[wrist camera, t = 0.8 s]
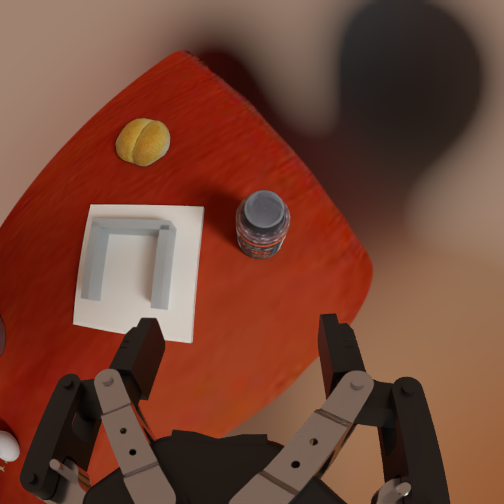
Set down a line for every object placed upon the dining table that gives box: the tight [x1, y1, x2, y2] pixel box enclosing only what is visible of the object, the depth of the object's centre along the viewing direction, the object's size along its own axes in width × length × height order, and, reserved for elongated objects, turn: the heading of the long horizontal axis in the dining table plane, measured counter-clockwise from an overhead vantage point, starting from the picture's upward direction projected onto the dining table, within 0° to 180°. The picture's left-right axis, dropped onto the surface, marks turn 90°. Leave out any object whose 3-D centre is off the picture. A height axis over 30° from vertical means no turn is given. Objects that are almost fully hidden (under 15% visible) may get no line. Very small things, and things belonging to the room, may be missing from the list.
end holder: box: [73, 205, 205, 343], centre depth 36 cm, size 18×18×4 cm
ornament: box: [0, 431, 20, 471], centre depth 26 cm, size 6×7×10 cm
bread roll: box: [116, 118, 170, 166], centre depth 41 cm, size 8×9×4 cm
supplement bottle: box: [235, 190, 290, 259], centre depth 34 cm, size 6×6×11 cm
